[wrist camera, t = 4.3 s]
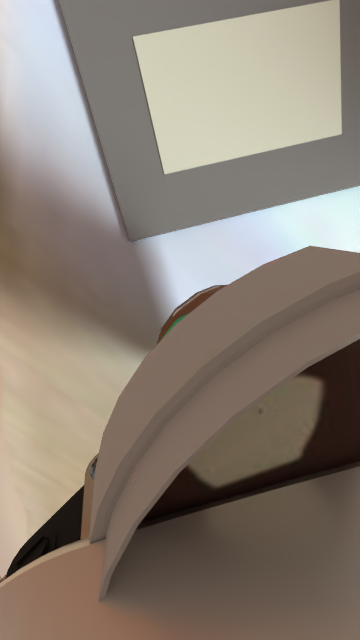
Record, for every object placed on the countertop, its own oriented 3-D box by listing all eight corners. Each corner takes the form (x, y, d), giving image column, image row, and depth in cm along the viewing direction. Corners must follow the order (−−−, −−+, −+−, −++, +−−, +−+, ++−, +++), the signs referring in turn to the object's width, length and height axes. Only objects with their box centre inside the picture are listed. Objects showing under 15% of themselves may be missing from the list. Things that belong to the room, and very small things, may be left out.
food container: (104, 291, 11) (-229, 438, 2) (208, 260, 11) (484, 220, 2) (168, 452, 15) (184, 811, 5) (248, 427, 15) (414, 731, 5)
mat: (382, -78, 12) (393, -95, 11) (376, 181, 16) (384, 178, 15) (52, -24, 11) (46, -40, 10) (130, 241, 15) (129, 240, 14)
